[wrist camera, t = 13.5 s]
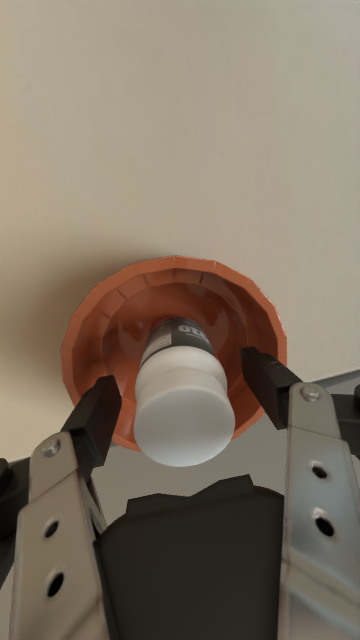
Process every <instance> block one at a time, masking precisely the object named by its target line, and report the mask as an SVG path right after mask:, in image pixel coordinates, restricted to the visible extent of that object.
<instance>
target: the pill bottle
mask: <svg viewBox="0 0 360 640" xmlns="http://www.w3.org/2000/svg"><path fill="white" fill-rule="evenodd" d="M135 396H136V401H137V405H136V414H135V420H134V430H133V431H134V437H135V441H136V443H137V445H138V447H139V448H140V450H141V451H142V452H143V453H144V454H145V455H146V456H147V457H149V458H150V459H152V460H153V461H155V462H158V463H161V464H164V465H168V466H175V467H180V466H181V467H183V466H192V465H196V464H200V463H202V462H205V461H207V460H209V459H211V458H213V457H214V456H216V455H217V454H218V453H220V452H221V451H222V450H223V449H224V448H225V447H226V446H227V444H228V443H229V441H230V440H231V438H232V436H233V433H234V429H235V416H234V412H233V409H232V407H231V404H230V402H229V399H228V397H227V378H226V375H225V372H224V369H223V367H222V365H221V363H220V361H219V359H218V357H217V356H216V354H215V352H214V350H213V348H212V346H211V344H210V343H209V341H208V339H207V337H206V335H205V333H204V331H203V330H202V328H201V327H200V325H199V324H198V323H197V322H195V321H194V320H193V319H191V318H189V317H186V316H181V315H174V316H169V317H166V318H164V319H162V320H160V321H158V322H157V323H156V324H155V325H154V326H153V327H152V329H151V330H150V332H149V334H148V337H147V341H146V345H145V349H144V352H143V356H142V360H141V364H140V367H139V371H138V374H137V379H136V383H135Z"/></svg>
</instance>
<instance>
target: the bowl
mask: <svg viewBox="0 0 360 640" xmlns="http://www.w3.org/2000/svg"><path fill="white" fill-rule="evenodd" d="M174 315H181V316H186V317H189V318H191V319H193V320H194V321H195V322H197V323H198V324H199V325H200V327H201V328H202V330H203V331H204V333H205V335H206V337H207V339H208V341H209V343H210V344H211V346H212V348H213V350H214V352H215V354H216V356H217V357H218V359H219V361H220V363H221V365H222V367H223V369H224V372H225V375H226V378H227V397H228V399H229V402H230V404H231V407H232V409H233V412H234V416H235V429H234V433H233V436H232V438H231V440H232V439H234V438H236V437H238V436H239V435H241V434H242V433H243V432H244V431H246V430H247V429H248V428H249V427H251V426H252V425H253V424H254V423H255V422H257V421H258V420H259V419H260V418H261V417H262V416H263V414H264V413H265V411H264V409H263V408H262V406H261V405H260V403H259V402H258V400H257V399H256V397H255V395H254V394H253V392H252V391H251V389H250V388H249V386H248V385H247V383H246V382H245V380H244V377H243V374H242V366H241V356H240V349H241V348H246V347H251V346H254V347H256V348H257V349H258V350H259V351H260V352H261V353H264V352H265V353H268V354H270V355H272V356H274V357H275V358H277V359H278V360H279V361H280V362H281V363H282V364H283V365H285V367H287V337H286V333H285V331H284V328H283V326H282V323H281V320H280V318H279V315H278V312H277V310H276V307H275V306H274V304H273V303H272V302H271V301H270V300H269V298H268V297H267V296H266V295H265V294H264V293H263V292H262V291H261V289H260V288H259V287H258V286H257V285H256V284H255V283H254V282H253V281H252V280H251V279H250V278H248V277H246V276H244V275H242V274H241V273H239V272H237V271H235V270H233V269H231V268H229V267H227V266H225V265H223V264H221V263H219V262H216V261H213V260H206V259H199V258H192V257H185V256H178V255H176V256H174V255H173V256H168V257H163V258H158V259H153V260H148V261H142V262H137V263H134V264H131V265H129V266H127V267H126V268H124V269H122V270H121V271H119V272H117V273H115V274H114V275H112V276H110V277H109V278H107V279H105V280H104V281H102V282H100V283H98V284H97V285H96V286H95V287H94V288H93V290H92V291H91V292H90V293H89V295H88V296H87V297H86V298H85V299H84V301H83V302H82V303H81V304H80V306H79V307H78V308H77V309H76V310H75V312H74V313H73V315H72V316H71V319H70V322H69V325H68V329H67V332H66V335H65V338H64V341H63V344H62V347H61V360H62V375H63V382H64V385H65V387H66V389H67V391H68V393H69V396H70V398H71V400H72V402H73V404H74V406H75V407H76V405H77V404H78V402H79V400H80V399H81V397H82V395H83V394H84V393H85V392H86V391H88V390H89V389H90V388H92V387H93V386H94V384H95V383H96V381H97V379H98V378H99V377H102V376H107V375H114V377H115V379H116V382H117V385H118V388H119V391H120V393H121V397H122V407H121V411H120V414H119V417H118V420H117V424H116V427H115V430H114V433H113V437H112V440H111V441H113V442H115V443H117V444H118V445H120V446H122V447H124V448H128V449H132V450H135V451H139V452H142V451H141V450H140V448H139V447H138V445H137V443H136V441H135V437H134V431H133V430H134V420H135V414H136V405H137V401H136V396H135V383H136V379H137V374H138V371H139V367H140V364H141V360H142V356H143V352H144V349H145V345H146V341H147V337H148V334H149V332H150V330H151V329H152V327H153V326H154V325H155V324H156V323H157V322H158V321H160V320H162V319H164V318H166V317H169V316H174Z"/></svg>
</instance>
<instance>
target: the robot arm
mask: <svg viewBox="0 0 360 640" xmlns="http://www.w3.org/2000/svg"><path fill="white" fill-rule="evenodd" d="M240 356H241V366H242V374H243V377H244V380H245V382H246V383H247V385H248V386H249V388H250V389H251V391H252V392H253V394H254V395H255V397H256V399H257V400H258V402H259V403H260V405H261V406H262V408H263V409H264V411H265V412H266V414H267V415H268V416H269V418H270V420H271V421H272V423H273V424H274V426H275V427H276V429H277V430H280V429H285V428H286V429H287V450H286V472H285V495H282V494H280V493H278V492H276V491H273V490H271V489H268V488H264V487H261V486H254V485H253V482H252V480H251V478H250V475H249V474H247V475H243V476H237V477H233V478H228V479H224V480H219V481H217V482H216V483H214V484H212V485H210V486H208V487H207V488H205V489H203V490H202V491H200V492H198V493H196V494H194V495H192V496H190V497H185V496H177V495H167V494H159V493H157V494H152V495H147V496H143V497H138V498H133V499H129V500H128V503H127V509H126V514H124V515H122V516H121V517H119V518H118V519H116V520H115V521H114V522H113V523H112V524H110V525H109V526H107V524H106V521H105V518H104V515H103V512H102V508H101V505H100V502H99V499H98V495H97V492H96V489H95V485H94V482H93V479H92V477H91V473H92V470H93V468H95V467H99V466H104V463H105V459H106V456H107V453H108V450H109V446H110V443H111V440H112V437H113V433H114V430H115V427H116V424H117V420H118V417H119V414H120V411H121V407H122V397H121V393H120V391H119V388H118V385H117V382H116V379H115V377H114V375H107V376H102V377H99V378H98V379H97V381H96V383H95V384H94V386H93V387H92V388H90V389H89V390H88V391H86V392H85V393H84V394H83V395H82V397H81V399H80V400H79V402H78V404H77V405H76V407H75V408H74V410H73V411H72V413H71V415H70V416H69V418H68V419H67V421H66V422H65V424H64V426H63V427H62V429H61V430H60V432H58V433H55V434H53V435H51V436H50V437H48V438H46V439H45V440H44V441H43V442H41V443H40V444H39V445H38V446H37V447H36V449H35V450H34V451H33V453H32V455H31V457H29V458H27V459H25V460H23V461H20V462H18V463H16V464H14V465H12V466H10V465H9V463H8V462H7V461H6V459H4V458H0V589H1V587H2V585H3V583H4V581H5V579H6V577H7V575H8V573H9V571H10V569H11V567H12V565H13V563H14V573H13V586H12V599H11V613H10V627H9V639H8V640H360V488H359V485H358V481H357V477H356V473H355V469H354V465H353V461H352V457H351V454H352V455H355V456H356V457H357V458H358V459H359V460H360V385H358V386H356V387H355V391H354V395H344V394H343V395H342V394H330V393H329V392H328V391H327V390H326V389H324V388H323V387H321V386H319V385H316V384H313V383H308V382H303V381H302V380H301V379H299V378H298V377H297V376H296V375H295V374H294V373H293V372H291V371H290V370H289V369H288V368H287V367H285V365H283V364H282V363H281V362H280V361H279V360H278V359H277V358H275V357H274V356H272V355H270V354H268V353H265V352H264V353H261V352H260V351H259V350H258V349H257V348H256V347H254V346H251V347H246V348H241V349H240Z"/></svg>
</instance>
